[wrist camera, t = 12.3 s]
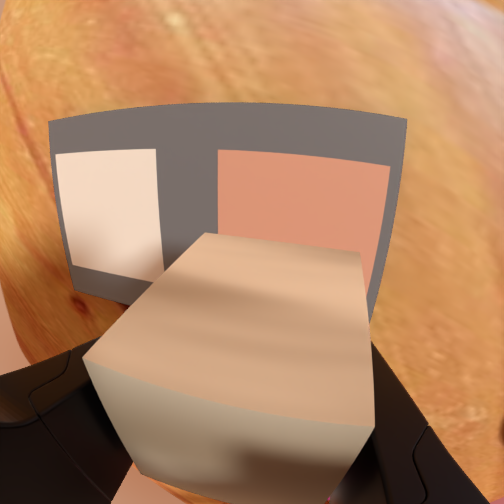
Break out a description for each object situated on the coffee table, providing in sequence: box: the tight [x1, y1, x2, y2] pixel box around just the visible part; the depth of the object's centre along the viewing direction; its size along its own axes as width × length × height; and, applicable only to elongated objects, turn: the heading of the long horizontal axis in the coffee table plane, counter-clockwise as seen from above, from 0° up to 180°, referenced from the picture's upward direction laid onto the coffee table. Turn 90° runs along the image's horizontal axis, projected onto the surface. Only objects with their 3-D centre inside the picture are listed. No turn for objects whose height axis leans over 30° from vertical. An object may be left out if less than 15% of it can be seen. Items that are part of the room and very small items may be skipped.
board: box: [48, 103, 407, 323], centre depth 15 cm, size 11×18×1 cm, turn 88°
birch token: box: [82, 233, 375, 504], centre depth 7 cm, size 4×4×5 cm
